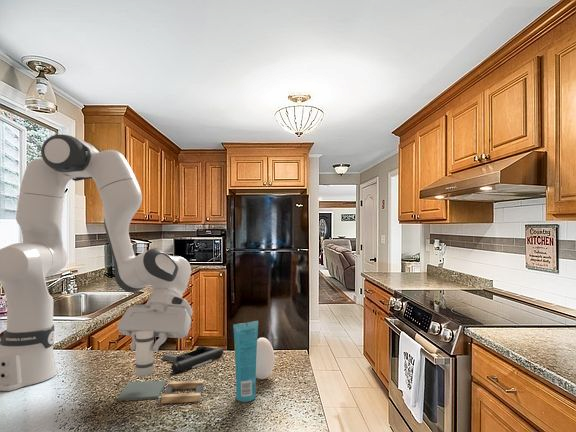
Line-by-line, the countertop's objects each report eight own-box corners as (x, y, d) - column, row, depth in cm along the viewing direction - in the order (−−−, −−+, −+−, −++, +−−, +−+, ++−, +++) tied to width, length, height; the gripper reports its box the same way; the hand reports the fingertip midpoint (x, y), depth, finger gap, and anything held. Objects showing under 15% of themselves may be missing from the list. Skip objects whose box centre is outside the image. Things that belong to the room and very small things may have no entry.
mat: (116, 400, 92) (117, 398, 93) (128, 384, 102) (128, 382, 102) (158, 398, 94) (158, 396, 94) (165, 382, 104) (166, 380, 104)
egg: (249, 374, 111) (249, 334, 111) (273, 373, 111) (274, 334, 112) (248, 384, 103) (249, 341, 104) (275, 383, 104) (275, 341, 104)
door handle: (147, 357, 119) (179, 364, 109) (195, 342, 135) (227, 347, 126) (147, 367, 118) (179, 376, 109) (195, 351, 135) (227, 357, 125)
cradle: (161, 403, 91) (161, 397, 91) (168, 387, 101) (168, 381, 101) (199, 401, 92) (200, 395, 93) (203, 385, 102) (203, 380, 102)
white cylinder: (132, 376, 96) (133, 334, 96) (137, 370, 100) (138, 329, 101) (151, 376, 96) (151, 333, 97) (155, 369, 101) (155, 328, 101)
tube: (251, 390, 99) (252, 318, 100) (262, 396, 95) (263, 321, 96) (227, 399, 94) (229, 323, 95) (239, 406, 90) (240, 326, 91)
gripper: (126, 297, 108) (103, 341, 98) (191, 300, 104) (174, 345, 94) (135, 310, 112) (113, 353, 102) (198, 312, 108) (182, 357, 98)
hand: (143, 349), depth 98 cm, fingers closed on white cylinder, 4 cm apart
